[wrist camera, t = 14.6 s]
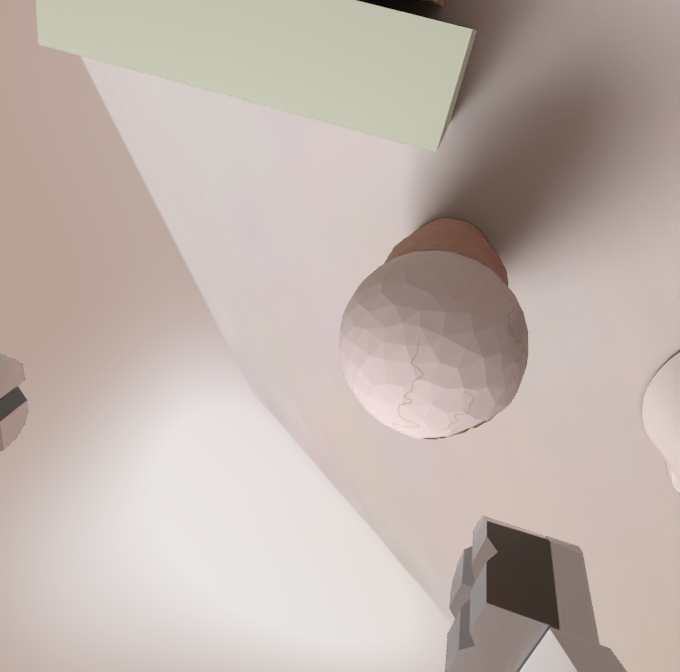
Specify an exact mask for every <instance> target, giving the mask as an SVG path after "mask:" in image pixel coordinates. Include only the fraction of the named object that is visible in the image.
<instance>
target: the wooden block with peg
mask: <svg viewBox="0 0 680 672" xmlns="http://www.w3.org/2000/svg"><path fill="white" fill-rule="evenodd" d="M419 1H423V2H427V3H431V4H435V5H439V6H443V7H444V3H445V0H419Z"/></svg>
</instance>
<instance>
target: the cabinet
mask: <svg viewBox="0 0 680 672" xmlns="http://www.w3.org/2000/svg"><path fill="white" fill-rule="evenodd" d="M36 12H37V13H36V14H37V30H38V44H39V45H43V46H47V47H50V48H54V49H58V50H61V51H65V52H69V53H72V54H76V55H80V56H83V57H87V58H91V59H94V60H98V61H102V62H105V63H109V64H113V65H116V66H120V67H124V68H127V69H131V70H135V71H138V72H142V73H146V74H149V75H153V76H157V77H160V78H164V79H168V80H171V81H175V82H179V83H182V84H186V85H190V86H193V87H197V88H201V89H204V90H208V91H212V92H215V93H219V94H223V95H226V96H230V97H234V98H237V99H241V100H245V101H248V102H252V103H256V104H259V105H263V106H267V107H270V108H274V109H278V110H281V111H285V112H289V113H292V114H296V115H300V116H303V117H307V118H311V119H314V120H318V121H322V122H326V123H329V124H333V125H337V126H340V127H344V128H348V129H351V130H355V131H359V132H362V133H366V134H370V135H373V136H377V137H381V138H384V139H388V140H392V141H395V142H399V143H403V144H406V145H410V146H414V147H417V148H421V149H425V150H428V151H432V152H437V150H438V148H439V146H440V143H441V141H442V139H443V137H444V135H445V132H446V130H447V128H448V126H449V124H450V121H451V117H452V114H453V111H454V107H455V104H456V101H457V97H458V94H459V91H460V87H461V84H462V81H463V77H464V74H465V71H466V67H467V64H468V61H469V57H470V54H471V51H472V47H473V44H474V41H475V37H476V34H477V31H478V30H474V29H470V28H466V27H462V26H458V25H454V24H450V23H446V22H442V21H437V20H433V19H429V18H425V17H421V16H417V15H413V14H409V13H405V12H401V11H397V10H393V9H389V8H385V7H381V6H377V5H373V4H369V3H365V2H361V1H357V0H36Z"/></svg>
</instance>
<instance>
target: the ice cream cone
mask: <svg viewBox="0 0 680 672" xmlns="http://www.w3.org/2000/svg"><path fill="white" fill-rule="evenodd" d="M339 343H340V356H341V366H342V368H343V371H344V374H345V377H346V379H347V382H348V384H349V386H350V388H351V389H352V391H353V393H354V395H355V396H356V398H357V399H358V400H359V401H360V403H361V404H362V405H363V407H364V408H365V409H366V410H367V411H368V412H370V413H371V414H372V415H373V416H374V417H375V418H376V419H377V420H379V421H380V422H382V423H383V424H385V425H387V426H389V427H391V428H393V429H395V430H396V431H398V432H401V433H403V434H406V435H409V436H411V437H414V438H417V439H438V438H445V437H449V436H452V435H456V434H460V433H464V432H466V431H467V430H469V429H470V428H476V427H478V426H480V425H481V424H483V423H485V422H488V421H489V420H491V419H492V418H493V417H494V416H495V415H496V414H498V413H499V412H500V411H502V410H504V409H505V408H506V407H507V406H508V405H509V404H510V403H511V402H512V400H513V398H514V396H515V395H516V393H517V391H518V388H519V385H520V383H521V380H522V377H523V374H524V371H525V369H526V365H527V358H528V330H527V326H526V322H525V318H524V314H523V311H522V309H521V307H520V305H519V303H518V301H517V299H516V297H515V295H514V294H513V293H512V291H511V290H510V289H509V288H508V278H507V272H506V269H505V267H504V265H503V263H502V261H501V259H500V258H499V256H498V255H497V253H496V252H495V250H494V249H493V248H492V247H491V246H490V245H489V244H488V242H487V240H486V238H485V236H484V234H483V233H482V232H481V231H480V230H478V229H477V228H476V227H475V226H473V225H472V224H471V223H468V222H465V221H462V220H458V219H452V218H440V219H437V220H435V221H433V222H430V223H428V224H426V225H424V226H423V227H422V228H420V229H419V230H418V231H415V232H414V233H412V234H411V235H410V236H408V237H407V238H405V239H404V240H402V241H401V242H400V243H399V244H398V245H396V246H395V247H394V248H393V250H392V252H391V253H390V255H389V256H388V258H387V260H386V261H385V263H384V264H383V265H382V266H380V267H378V268H377V269H376V270H375V271H374V272H373V273H372V274H370V275H369V276H368V277H367V278H366V279H365V280H364V281H363V282H362V283H361V284H360V286H359V287H358V288H357V290H356V292H355V293H354V295H353V297H352V298H351V300H350V302H349V303H348V305H347V307H346V310H345V312H344V314H343V319H342V324H341V329H340V339H339Z"/></svg>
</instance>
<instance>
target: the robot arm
mask: <svg viewBox="0 0 680 672" xmlns="http://www.w3.org/2000/svg"><path fill="white" fill-rule="evenodd" d="M24 380H25V376H24V369H23V364H22V363H20V362H19V361H17V360H15V359H13V358H11V357H7V356H5V355H2V354H0V451H2V450H4V449H5V448H6V447H8V446H9V445H10V444H11V443H12V442H13V441H14V440H15V439H16V438H17V436H18V435H19V433H20V432H21V430H22V428H23V427H24V425H25V423H26V418H27V414H28V404H27V399H26V398H25V396H24V395H23V393H22V392H21V390H20V389H19V386H20V385H21V384H22V383H23V382H24ZM642 418H643V424H644V428H645V430H646V433H647V435H648V437H649V439H650V440H651V442H652V443H653V445H654V446H655V447H656V448H657V449H658V451H659V452H660V453H661V455H662V456H663V457H664V459H665V460H666V462H667V468H668V473H669V477H670V480H671V482H672V483H673V485H674V487H675V488H676V490H677V491H678V492H680V352H679V353H678V354H676V355H675V356H674V357H672V358H671V359H670V360H669V361H668V362H667V363H666V364H665V365H663V367H662V368H661V369H660V370H659V371H658V372H657V374H656V375H655V376H654V378H653V379H652V381H651V383H650V384H649V386H648V388H647V391H646V393H645V396H644V400H643V406H642ZM449 608H450V610H451V612H452V614H453V615H454V617H455V620H454V622H453V624H452V626H451V628H450V630H449V632H448V634H447V650H446V664H445V672H627V671H626V670H625V668H624V667H623V666H622V664H621V663H620V661H619V660H618V659H617V657H616V656H615V655H614V653H613V652H612V650H611V649H610V648H607V647H605V646H602V645H600V644H599V638H598V633H597V628H596V622H595V617H594V611H593V606H592V601H591V595H590V590H589V584H588V579H587V574H586V568H585V563H584V557H583V552H582V551H581V549H580V548H579V547H578V546H576V545H573V544H569V543H566V542H563V541H560V540H557V539H554V538H551V537H548V536H546V537H545V536H543V535H541V534H538V533H534V532H531V531H528V530H525V529H522V528H519V527H516V526H513V525H510V524H507V523H504V522H501V521H498V520H495V519H492V518H488V517H485V516H483V517H482V518H481V519H480V520H479V521H478V523H477V525H476V527H475V529H474V531H473V545H472V547H469V548H467V549H465V550H464V551H463V553H462V555H461V558H460V560H459V562H458V564H457V568H456V571H455V574H454V578H453V582H452V588H451V595H450V607H449Z"/></svg>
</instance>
